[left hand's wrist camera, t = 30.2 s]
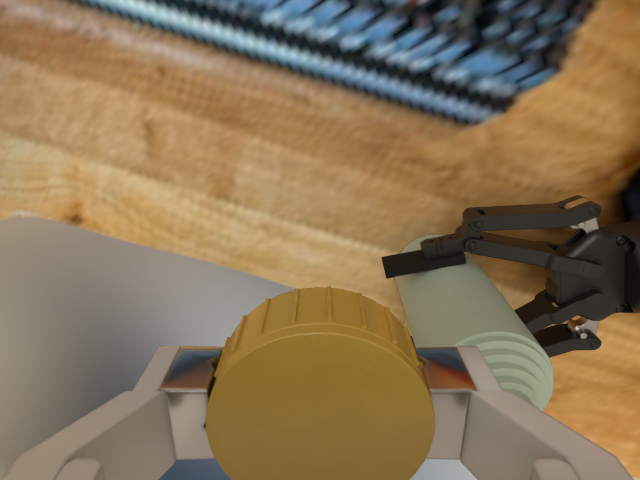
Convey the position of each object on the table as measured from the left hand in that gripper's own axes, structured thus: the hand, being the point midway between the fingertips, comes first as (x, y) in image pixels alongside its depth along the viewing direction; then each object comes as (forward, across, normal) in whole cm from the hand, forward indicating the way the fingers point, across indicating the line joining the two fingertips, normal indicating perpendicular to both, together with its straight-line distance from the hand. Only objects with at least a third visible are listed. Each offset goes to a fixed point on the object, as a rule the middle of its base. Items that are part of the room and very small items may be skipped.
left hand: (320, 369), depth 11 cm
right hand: (+26, +6, -13) cm, 30 cm away
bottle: (+32, +11, -12) cm, 36 cm away
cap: (-2, 0, 0) cm, 2 cm away
